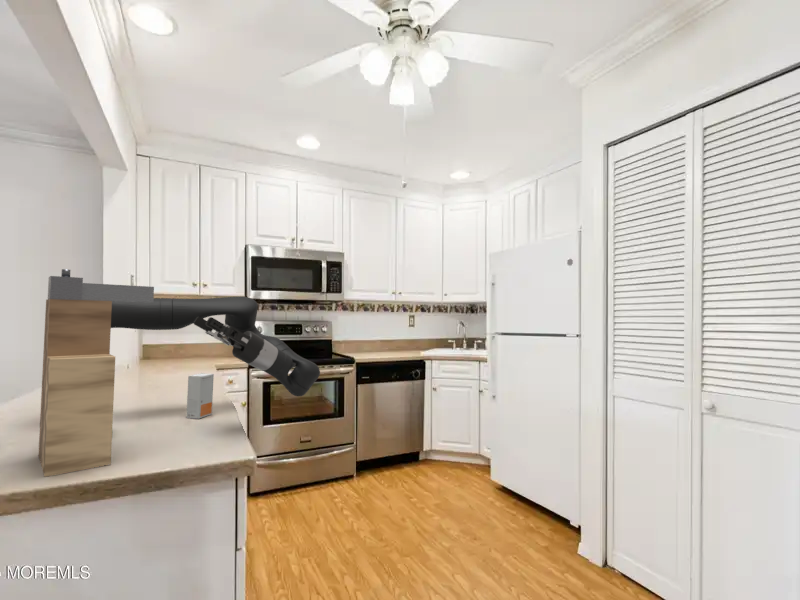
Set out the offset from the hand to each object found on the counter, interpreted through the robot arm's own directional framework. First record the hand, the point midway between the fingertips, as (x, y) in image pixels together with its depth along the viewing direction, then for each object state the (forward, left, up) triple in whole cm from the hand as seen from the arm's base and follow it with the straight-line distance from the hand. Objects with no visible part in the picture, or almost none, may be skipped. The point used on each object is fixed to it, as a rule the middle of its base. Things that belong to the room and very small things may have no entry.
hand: (201, 320), depth 105 cm
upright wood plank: (+1, -24, -28) cm, 37 cm away
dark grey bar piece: (0, -20, +4) cm, 20 cm away
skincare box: (-21, +8, -28) cm, 36 cm away
